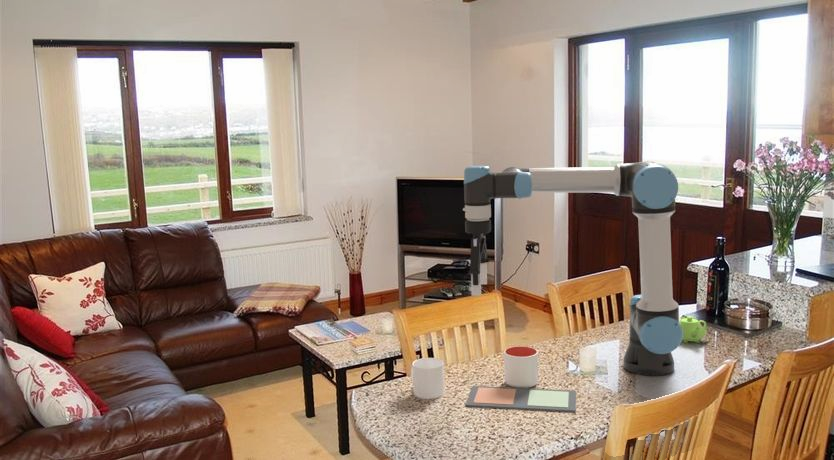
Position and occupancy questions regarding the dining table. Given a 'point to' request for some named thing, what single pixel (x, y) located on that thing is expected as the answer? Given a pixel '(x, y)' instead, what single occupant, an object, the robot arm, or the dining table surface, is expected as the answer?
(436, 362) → the mug
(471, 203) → the robot arm
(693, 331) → the teapot
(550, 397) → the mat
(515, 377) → the cup
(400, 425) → the dining table surface
